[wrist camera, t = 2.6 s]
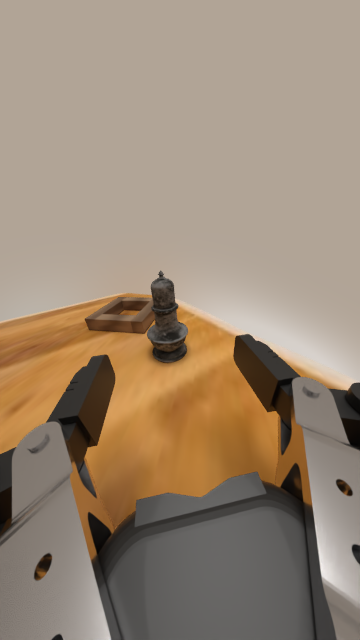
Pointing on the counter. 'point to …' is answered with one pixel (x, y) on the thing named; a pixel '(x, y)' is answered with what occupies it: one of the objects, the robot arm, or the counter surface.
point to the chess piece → (166, 323)
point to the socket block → (123, 316)
